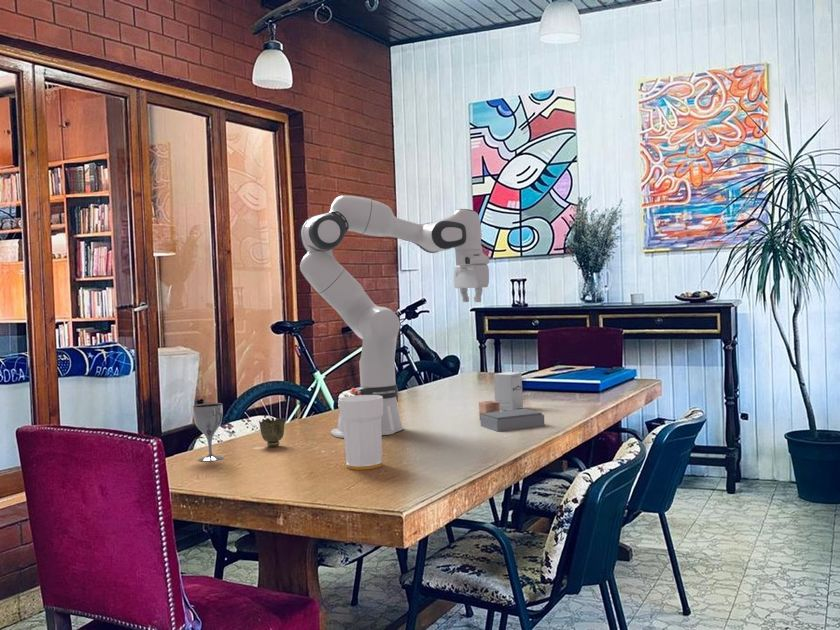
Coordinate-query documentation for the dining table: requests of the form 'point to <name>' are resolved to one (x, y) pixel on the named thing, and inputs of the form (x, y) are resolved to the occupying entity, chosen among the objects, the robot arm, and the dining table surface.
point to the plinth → (512, 419)
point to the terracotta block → (488, 407)
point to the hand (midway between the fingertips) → (471, 302)
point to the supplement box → (508, 390)
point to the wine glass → (208, 424)
